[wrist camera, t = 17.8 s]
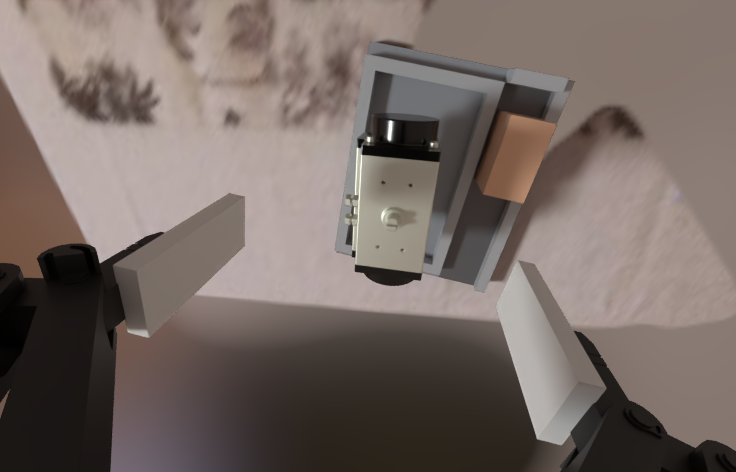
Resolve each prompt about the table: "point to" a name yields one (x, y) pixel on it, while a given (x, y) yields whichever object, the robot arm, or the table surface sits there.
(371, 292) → the table surface
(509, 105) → the grey tray
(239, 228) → the robot arm
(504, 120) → the tan cardboard box
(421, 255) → the pneumatic valve
